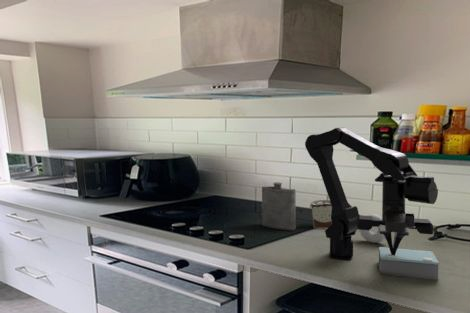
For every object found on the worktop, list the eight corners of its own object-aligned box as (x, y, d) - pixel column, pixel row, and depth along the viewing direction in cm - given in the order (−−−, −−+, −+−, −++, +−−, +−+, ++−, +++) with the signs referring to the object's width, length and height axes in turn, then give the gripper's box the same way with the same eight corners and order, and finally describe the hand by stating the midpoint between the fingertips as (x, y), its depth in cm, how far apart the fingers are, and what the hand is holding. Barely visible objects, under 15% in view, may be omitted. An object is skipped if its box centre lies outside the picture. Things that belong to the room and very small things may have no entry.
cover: (380, 259, 100) (380, 255, 100) (379, 248, 109) (379, 245, 109) (438, 264, 95) (439, 261, 95) (432, 253, 104) (432, 250, 104)
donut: (356, 241, 128) (357, 213, 127) (359, 238, 131) (360, 211, 130) (387, 246, 122) (387, 217, 121) (389, 243, 125) (390, 214, 124)
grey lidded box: (380, 273, 101) (380, 259, 100) (378, 261, 109) (378, 248, 109) (437, 280, 96) (438, 265, 96) (431, 267, 105) (431, 253, 104)
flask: (292, 231, 141) (292, 184, 139) (260, 226, 149) (259, 181, 147) (296, 229, 144) (296, 183, 142) (264, 223, 152) (264, 180, 150)
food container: (336, 223, 151) (336, 199, 150) (341, 227, 145) (341, 202, 144) (306, 224, 150) (306, 200, 149) (310, 228, 144) (310, 203, 143)
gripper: (357, 203, 96) (356, 262, 97) (438, 206, 90) (436, 269, 91) (357, 195, 106) (357, 248, 107) (429, 198, 100) (428, 254, 101)
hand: (393, 255), depth 101 cm, fingers closed, pressing on cover
